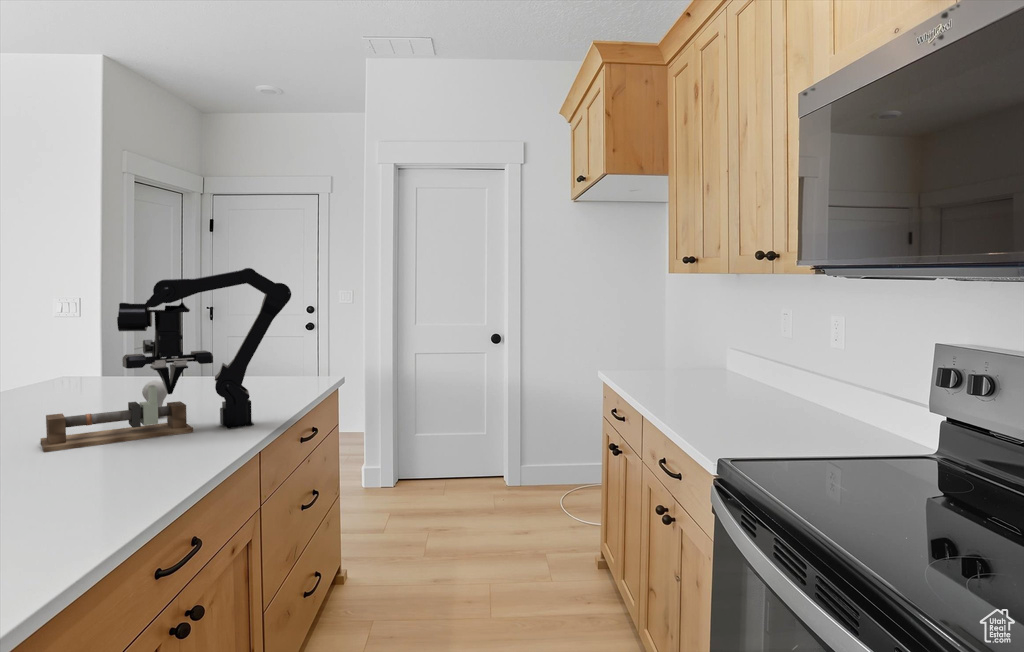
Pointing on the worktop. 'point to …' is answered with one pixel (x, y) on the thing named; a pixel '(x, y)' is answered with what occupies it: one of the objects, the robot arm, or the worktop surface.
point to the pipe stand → (62, 441)
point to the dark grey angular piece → (134, 414)
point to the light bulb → (160, 391)
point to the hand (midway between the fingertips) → (169, 394)
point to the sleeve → (150, 407)
